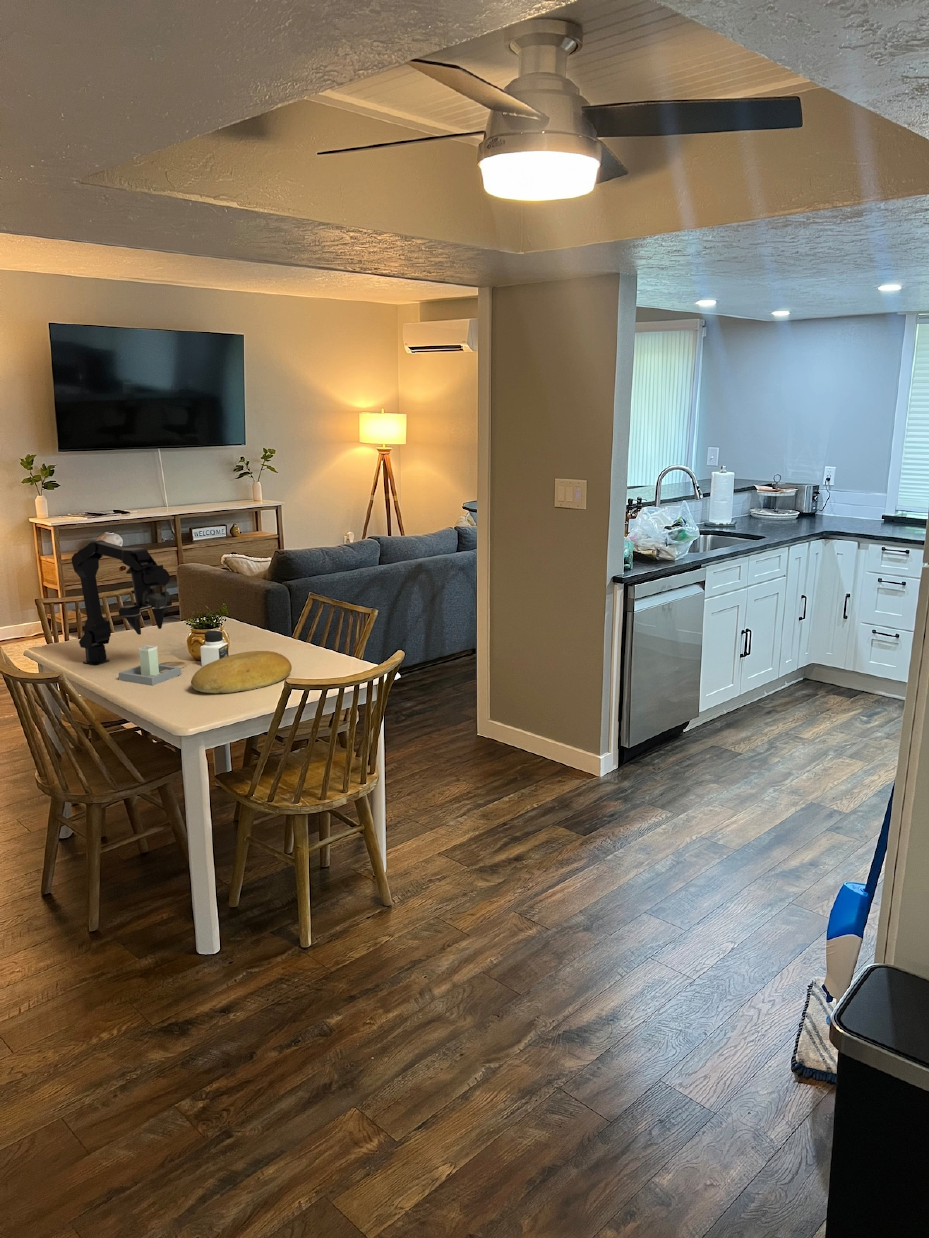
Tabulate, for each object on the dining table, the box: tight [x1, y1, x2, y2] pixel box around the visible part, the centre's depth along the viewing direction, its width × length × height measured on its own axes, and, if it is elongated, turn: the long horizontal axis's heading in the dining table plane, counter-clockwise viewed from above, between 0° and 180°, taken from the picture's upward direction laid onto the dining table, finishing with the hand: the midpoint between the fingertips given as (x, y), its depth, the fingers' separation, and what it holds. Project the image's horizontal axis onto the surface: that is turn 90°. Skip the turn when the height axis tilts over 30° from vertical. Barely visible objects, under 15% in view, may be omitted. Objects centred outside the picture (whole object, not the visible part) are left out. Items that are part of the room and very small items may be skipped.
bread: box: [190, 650, 292, 694], centre depth 299 cm, size 18×35×10 cm, turn 138°
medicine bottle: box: [200, 629, 230, 667], centre depth 321 cm, size 7×7×12 cm
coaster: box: [159, 661, 187, 669], centre depth 319 cm, size 10×10×1 cm
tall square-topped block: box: [138, 644, 160, 676], centre depth 305 cm, size 4×4×10 cm
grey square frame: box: [118, 663, 182, 686], centre depth 306 cm, size 14×13×2 cm
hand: (149, 631), depth 309 cm, fingers open, 9 cm apart
